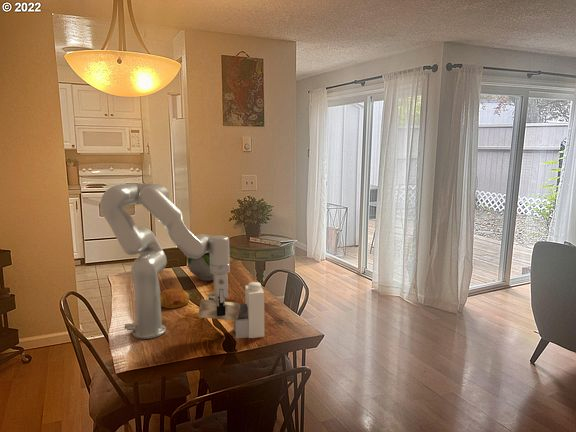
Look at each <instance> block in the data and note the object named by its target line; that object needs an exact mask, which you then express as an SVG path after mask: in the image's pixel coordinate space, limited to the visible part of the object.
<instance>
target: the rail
mask: <svg viewBox="0 0 576 432" xmlns="http://www.w3.org/2000/svg"><path fill="white" fill-rule="evenodd" d="M246 313H247V304H245V303H242V302H241V303H240V302H231V301H226V302H225V316H217V301H214V300H209V299H203V298H202V299H200V301H199V309H198V318H203V319H204V318H205V319H214V320H223V321H233V322H234V321H235V320H239V319H245V318H246Z"/></svg>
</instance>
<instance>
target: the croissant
mask: <svg viewBox="0 0 576 432" xmlns="http://www.w3.org/2000/svg"><path fill="white" fill-rule="evenodd" d="M160 299H161V308H164V309H165V310H166V309H169V310H170V309H172V310H173V309H179V308H182V307H184V306H188V304H189V301H190V294H189V292H187V291H186V290H183V289H182V288H178V287H176V288H175V287H173V288H168V289H164V290H162V291H160Z"/></svg>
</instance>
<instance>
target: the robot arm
mask: <svg viewBox="0 0 576 432" xmlns="http://www.w3.org/2000/svg"><path fill="white" fill-rule="evenodd" d="M132 205H142V207H144V209H146V210H147V211H148V212H149V213H150V214H151V215H152V216H154V219H155V218H156V220H157V221H158V222H159V223H160V224H162V226H163V227H164V228H165V231H166V233H167V235H168V236H169V238H170V239H171V241H172V242H173V244H174V245H175V246H176V247H177V248H178V249H179V250H180V251H181V252H182V253H183V255H184V254H186V255H187V256H188V257H190V258H194V259H197V258H200V257H202V256H203V255H204V254H205V253H208V252H209V253H210V273H212V274H213V280H212V281H213V291H214V292H215V297H216V301H217V316H225V298H226V299H228V300H229V278H228V277H229V276H228V274H229V273H230V272H231V268H230V267H231V265H230V263H231V262H230V261H231V260H230V259H231V258H230V254H231V253H230V238H229V237H228V236H226V235H222V234H221V235H212V234H205V233H200V234H196V235H194V234H193V233H192V232H191V231H190V230H189V229H188V227H187V226H186V224H185V223H184V219H183V217H184V216H183V213H182V210H181V209H180V208H179V207H178V206H177V205H176V204H175V203H174V202H173V201H172V200H170V192H169V190H168V189H167V188H166V186H164V185H163V184H159V183H157V184H156V183H139V182H138V183H137V182H134V183H133V182H130V183H129V182H128V183H121V184H116V185H113V186H111V187H109V188H107V189H106V190H105V192H104V193H103V195H102V196H101V199H100V210H101V214H102V216H103V217H104V218H105V221H106V222H107V223H108V225H109V228H111V230H112V232H113V233H112V234H114V236H115V238H116V240H117V241H118V244H119V245H120V247H121V249H122V250H123V252H124V253H125V254H127V255H130V256H135V255H137V254H138V255H140V256H139V257H137V258H135V259H134V261H133V263H132V264H131V266H130V267H131V268H130V269H131V270H130V271H131V277H132V281H133V291H134V302H135V303H134V304H135V321H133V322H132V323H130V322H129V323H124V329H125V330H126V331H132V336H133V337H134V338H137V339H139V340H141V339H142V340H146V339H147V340H148V339H154V338H157V337H160V336H162V335H164V334H165V332H166V331H167V327H166V325H164V324H162V307H161V299H160V293H161V287H160V282H159V277H158V274H160V273H161V272H162V271H163V270H164V269H165V268H166V266H167V264H168V260H167V259H168V258H167V255H166V254H165V251H164V249H163V248H162V246H161V244H160V242H159V241H158V238H157V237H156V235H155V234H154V232H153V231H152V230H151V229H150V228H148V227H146V226H137V224H136V223H135V221H134V219H133V217H132V216H131V214H130V213H129V212H128V211H127V210H126V207H128V206H132Z"/></svg>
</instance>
